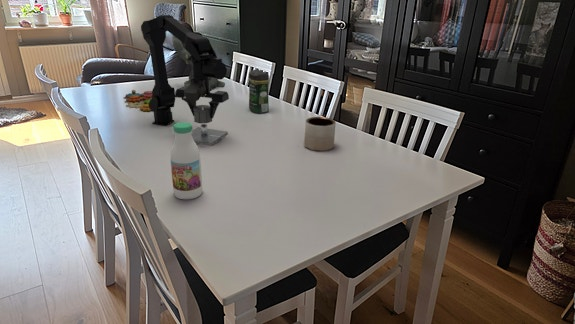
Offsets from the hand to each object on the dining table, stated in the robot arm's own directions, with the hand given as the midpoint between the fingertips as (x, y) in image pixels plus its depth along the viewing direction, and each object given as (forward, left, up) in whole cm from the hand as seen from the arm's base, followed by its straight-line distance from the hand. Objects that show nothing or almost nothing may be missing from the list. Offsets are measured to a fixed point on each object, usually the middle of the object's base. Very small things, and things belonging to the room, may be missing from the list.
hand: (203, 117), depth 142 cm
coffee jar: (+7, +39, -8) cm, 41 cm away
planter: (+43, +7, -8) cm, 44 cm away
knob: (0, 0, -1) cm, 1 cm away
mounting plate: (0, 0, -8) cm, 8 cm away
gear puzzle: (-48, +29, -9) cm, 57 cm away
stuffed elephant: (-38, +67, -8) cm, 78 cm away
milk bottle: (+17, -40, -8) cm, 44 cm away
